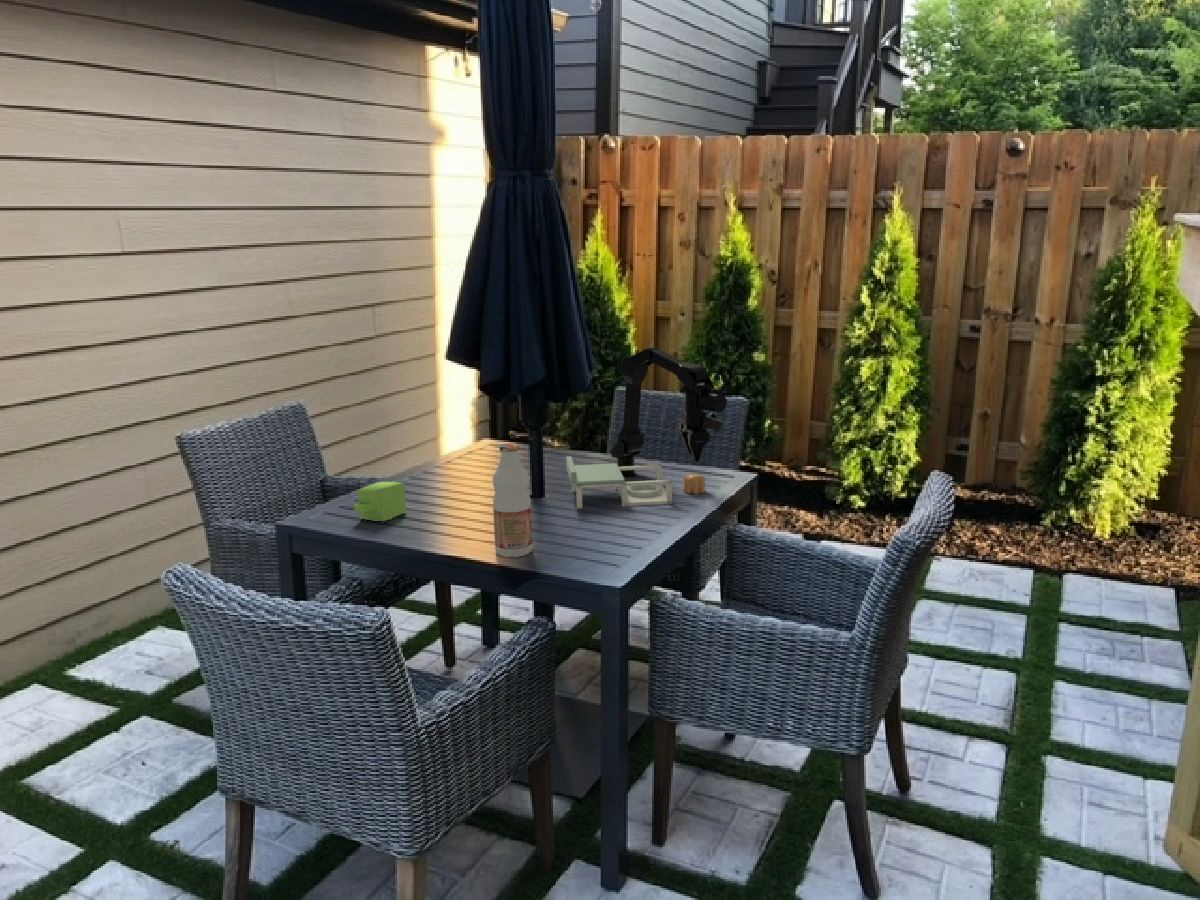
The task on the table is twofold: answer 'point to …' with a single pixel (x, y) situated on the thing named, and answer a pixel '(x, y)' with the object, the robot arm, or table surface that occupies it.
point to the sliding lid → (593, 473)
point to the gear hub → (694, 483)
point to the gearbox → (381, 501)
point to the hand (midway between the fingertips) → (694, 458)
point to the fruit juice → (511, 505)
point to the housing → (636, 489)
